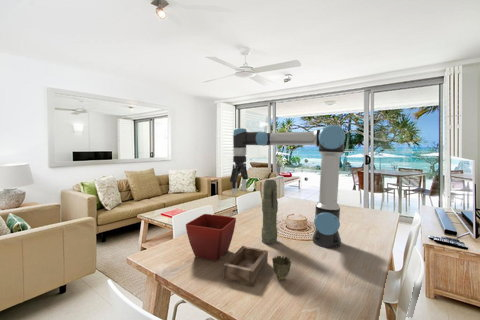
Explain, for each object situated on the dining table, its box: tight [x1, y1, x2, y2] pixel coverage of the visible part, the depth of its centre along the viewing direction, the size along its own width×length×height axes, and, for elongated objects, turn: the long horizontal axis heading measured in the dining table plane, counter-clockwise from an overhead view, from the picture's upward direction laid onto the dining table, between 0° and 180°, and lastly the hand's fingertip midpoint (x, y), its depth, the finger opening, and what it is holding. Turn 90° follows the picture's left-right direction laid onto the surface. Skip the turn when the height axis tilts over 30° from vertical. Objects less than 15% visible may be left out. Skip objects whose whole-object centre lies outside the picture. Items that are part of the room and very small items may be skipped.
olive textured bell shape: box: [271, 255, 292, 281], centre depth 96 cm, size 8×7×8 cm
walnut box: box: [223, 245, 269, 287], centre depth 102 cm, size 13×20×6 cm, turn 157°
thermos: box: [261, 179, 279, 245], centre depth 134 cm, size 9×12×35 cm
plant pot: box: [185, 213, 237, 262], centre depth 118 cm, size 19×19×17 cm
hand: (239, 192), depth 137 cm, fingers open, 13 cm apart
